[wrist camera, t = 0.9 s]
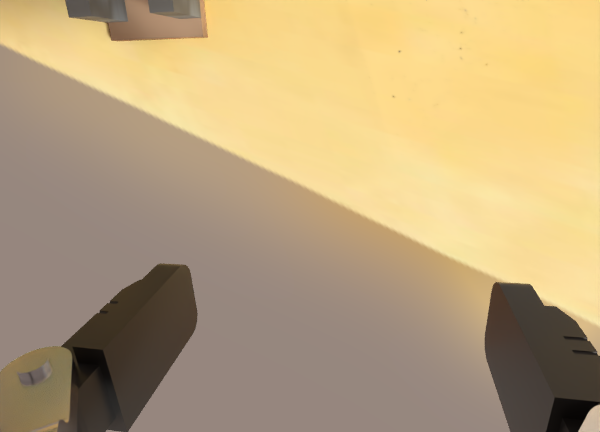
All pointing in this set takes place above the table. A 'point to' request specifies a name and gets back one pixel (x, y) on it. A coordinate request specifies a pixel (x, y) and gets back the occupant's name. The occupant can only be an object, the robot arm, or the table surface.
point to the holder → (144, 18)
